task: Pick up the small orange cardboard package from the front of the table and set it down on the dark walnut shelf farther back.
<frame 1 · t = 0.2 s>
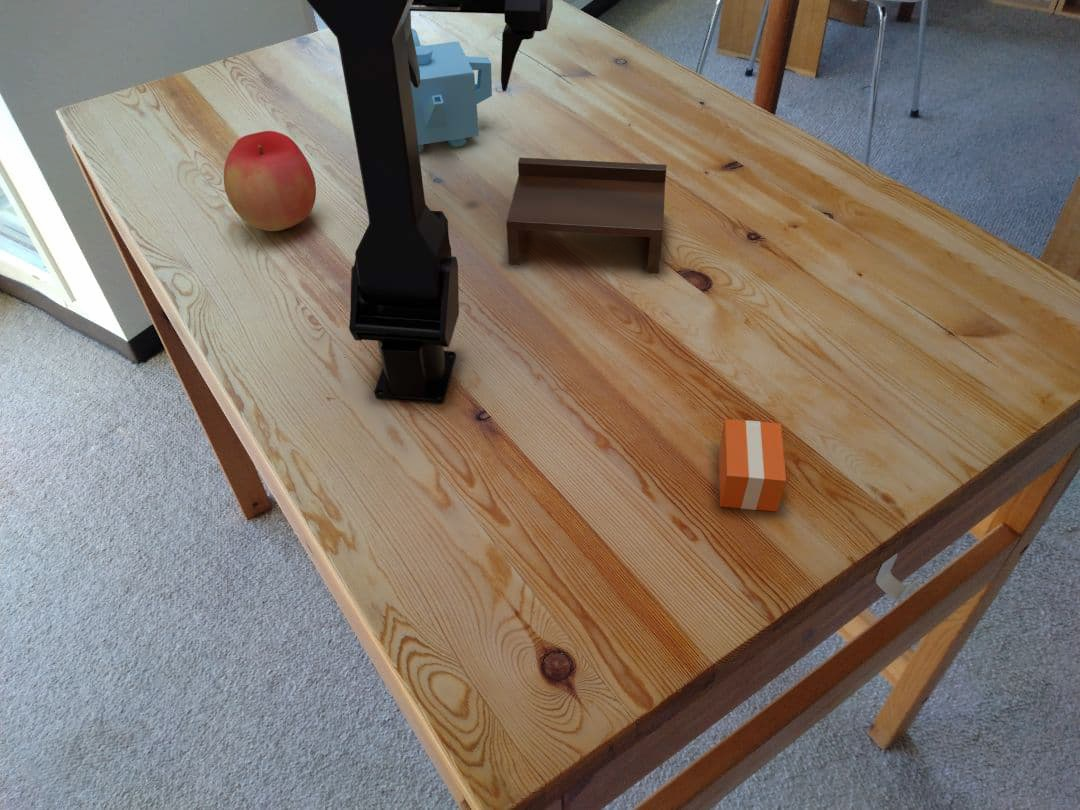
hand: (461, 87, 88), 15 cm above the table, tool pointing down, fingers open, 9 cm apart
teapot: (433, 133, 111), on the table
package: (746, 480, 70), on the table
shelf: (587, 241, 94), on the table
apple: (282, 224, 97), on the table
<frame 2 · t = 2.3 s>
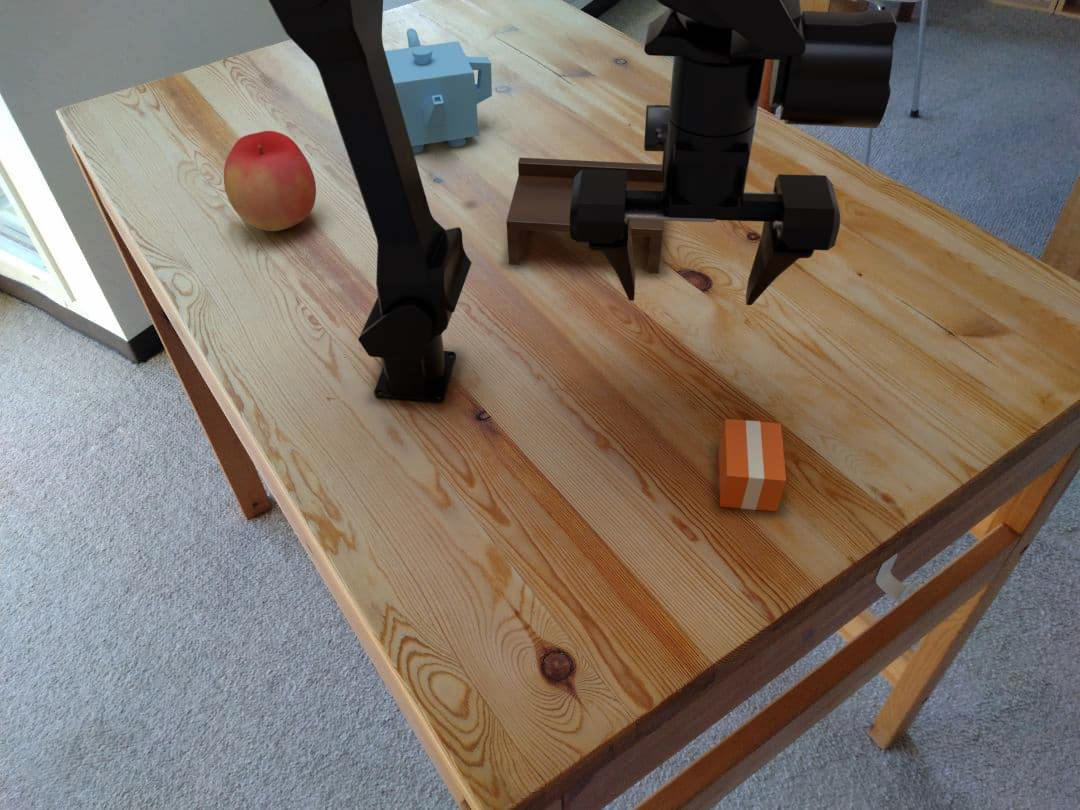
hand: (689, 299, 67), 12 cm above the table, tool pointing down, fingers open, 9 cm apart
nothing on the table moved.
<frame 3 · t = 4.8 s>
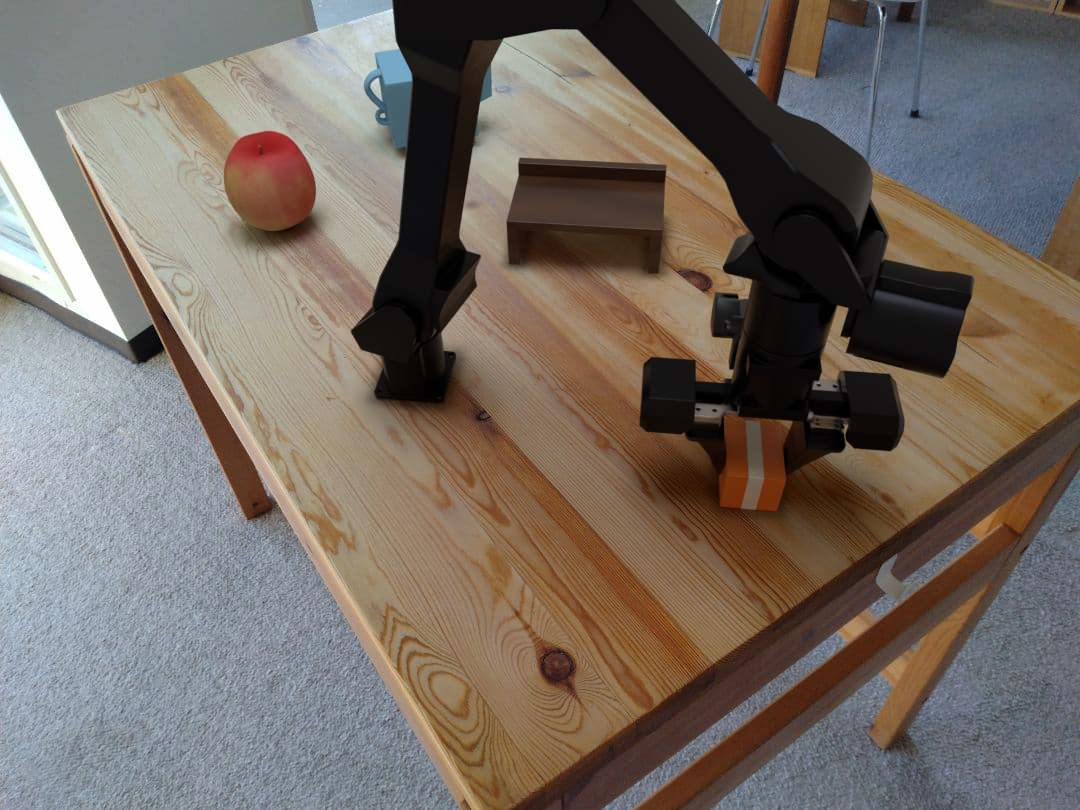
hand: (748, 472, 69), 1 cm above the table, tool pointing down, fingers closed on package, 4 cm apart
package: (746, 480, 70), on the table, touching gripper
everything else where it was.
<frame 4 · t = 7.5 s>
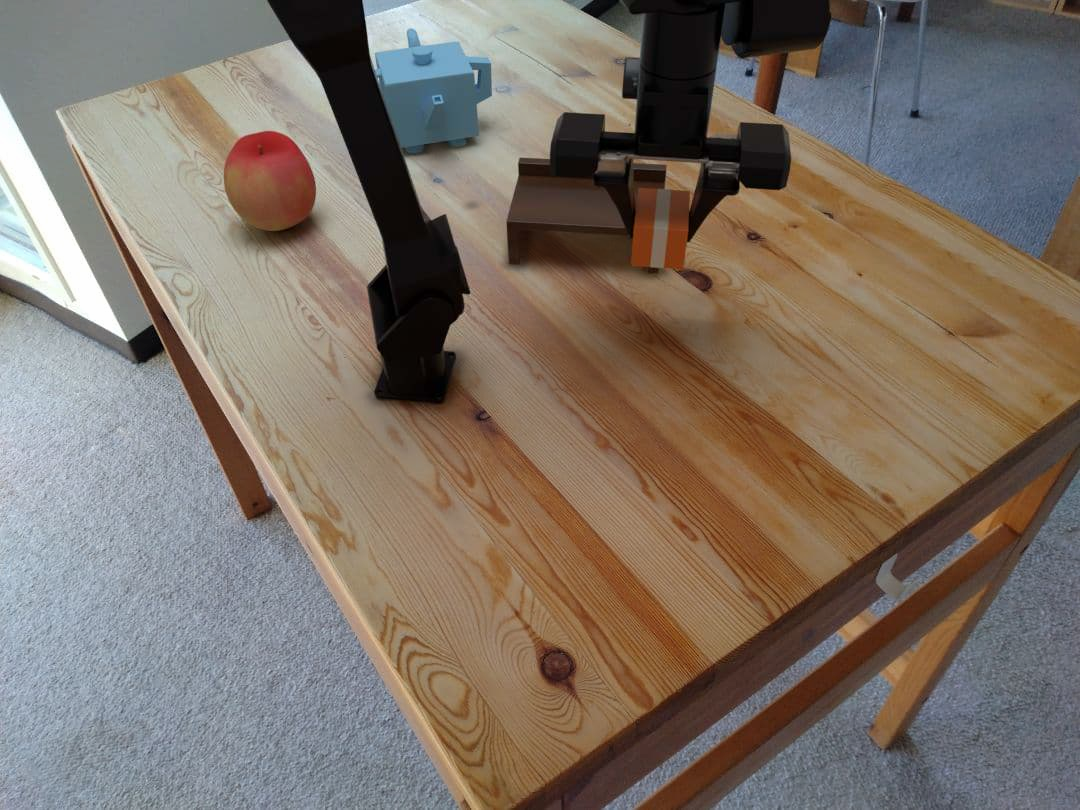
hand: (659, 237, 74), 11 cm above the table, tool pointing down, fingers closed on package, 4 cm apart
package: (658, 247, 75), point 10 cm above the table, touching gripper
everything else where it was.
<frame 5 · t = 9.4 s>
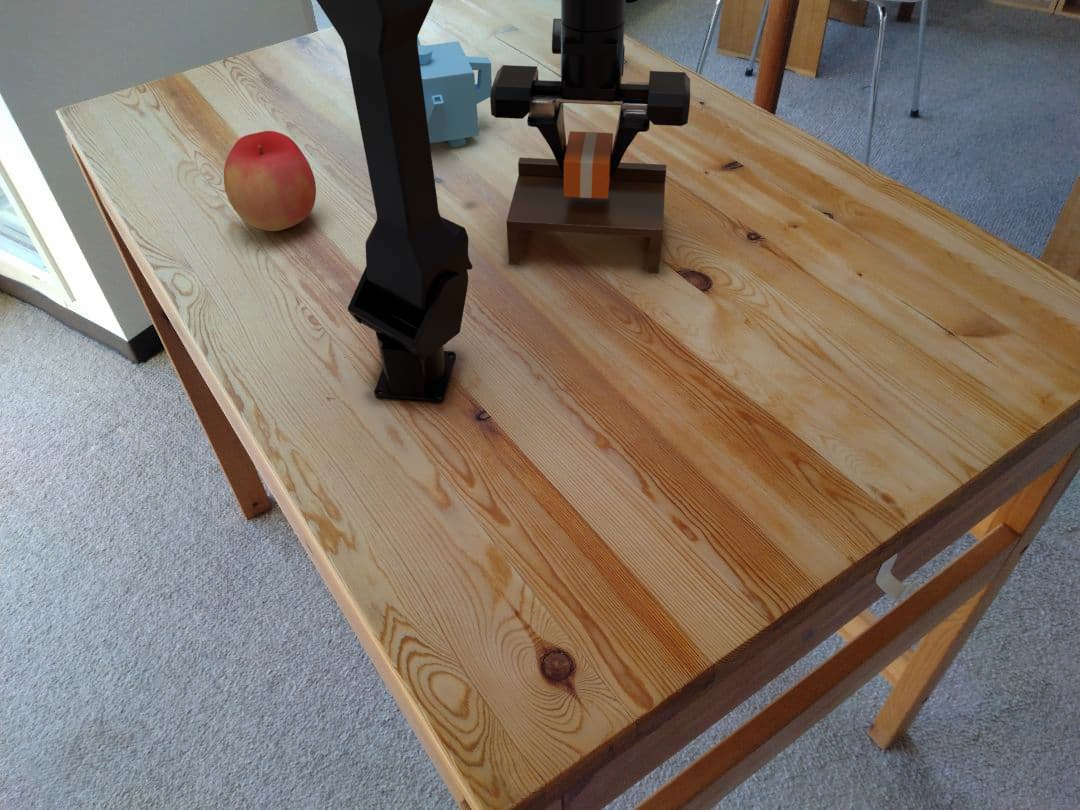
hand: (588, 173, 87), 8 cm above the table, tool pointing down, fingers closed on package, 4 cm apart
package: (588, 181, 88), point 7 cm above the table, touching gripper
everything else where it was.
when the fingers open (7 cm above the table, at t = 10.4 s): package stays where it is, resting on shelf.
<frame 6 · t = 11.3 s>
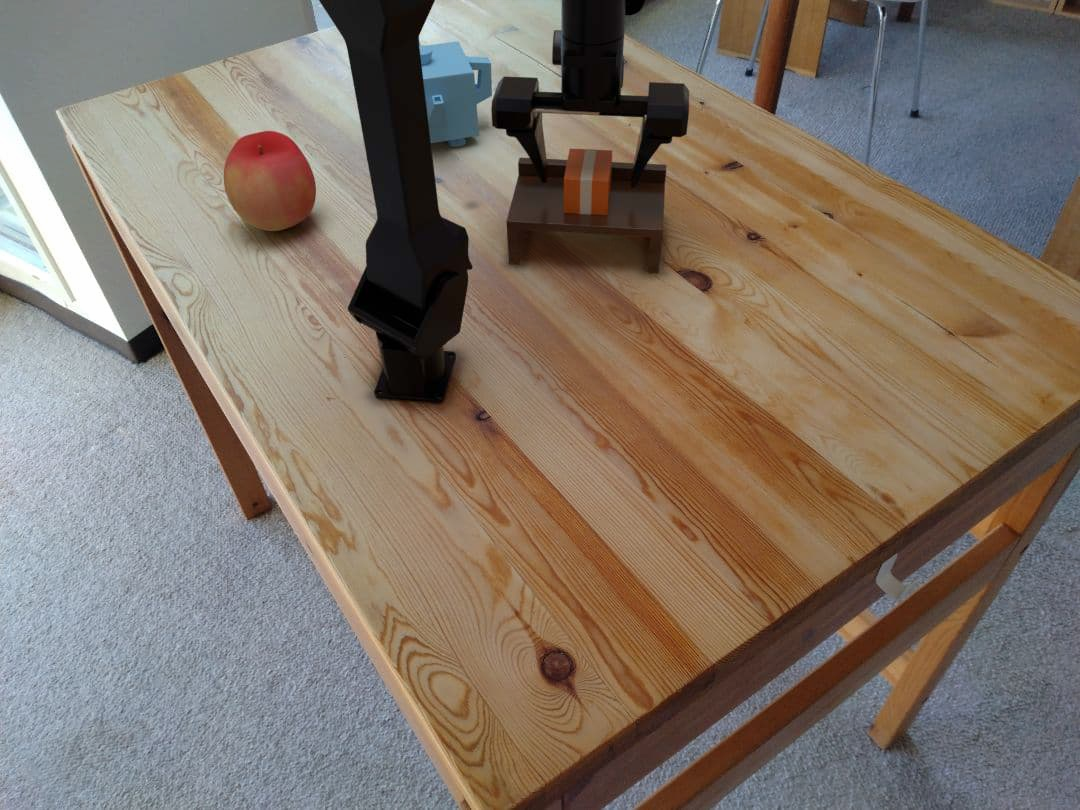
hand: (588, 183, 88), 7 cm above the table, tool pointing down, fingers open, 9 cm apart
package: (587, 198, 90), point 6 cm above the table, touching shelf
everything else where it was.
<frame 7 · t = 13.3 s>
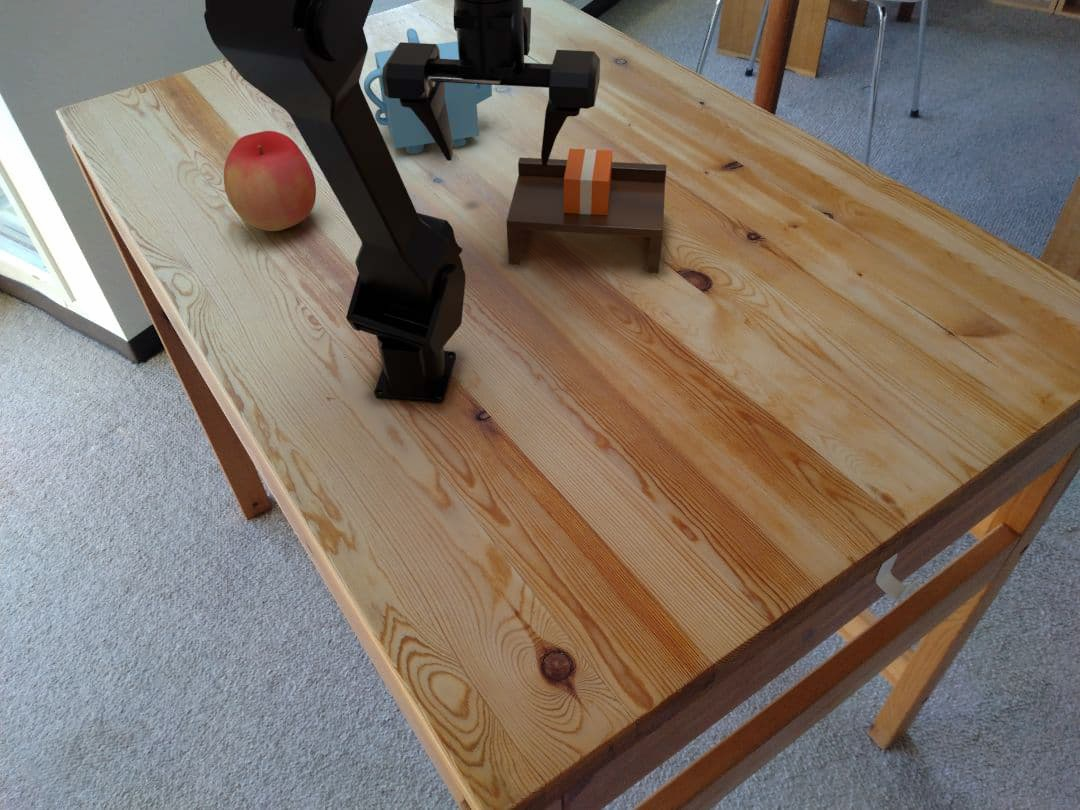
hand: (497, 161, 81), 13 cm above the table, tool pointing down, fingers open, 9 cm apart
nothing on the table moved.
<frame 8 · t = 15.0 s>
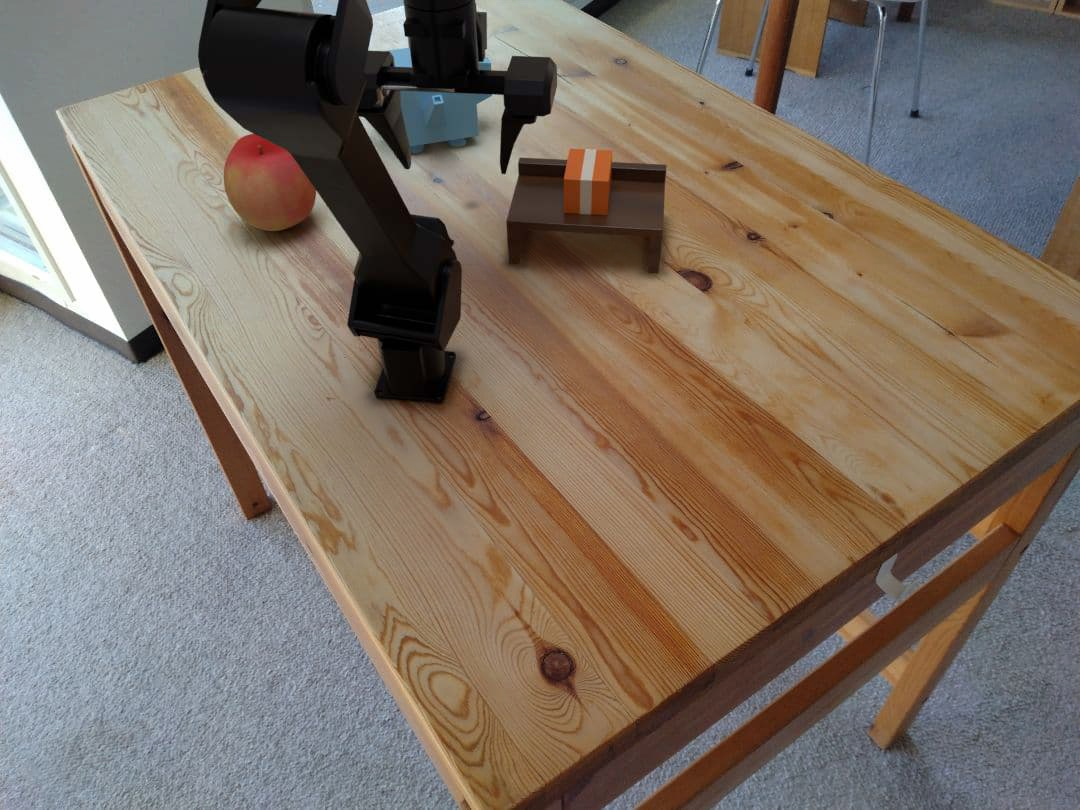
hand: (456, 169, 80), 13 cm above the table, tool pointing down, fingers open, 9 cm apart
nothing on the table moved.
at the end: package inside the target area on the shelf (0.0 cm from its centre), point 5.5 cm above the shelf's base; package tilted 0°; the gripper is holding nothing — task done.
